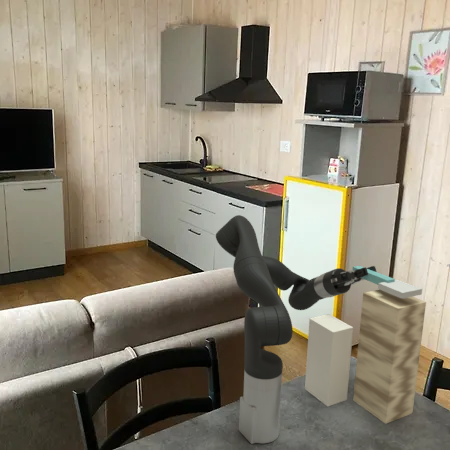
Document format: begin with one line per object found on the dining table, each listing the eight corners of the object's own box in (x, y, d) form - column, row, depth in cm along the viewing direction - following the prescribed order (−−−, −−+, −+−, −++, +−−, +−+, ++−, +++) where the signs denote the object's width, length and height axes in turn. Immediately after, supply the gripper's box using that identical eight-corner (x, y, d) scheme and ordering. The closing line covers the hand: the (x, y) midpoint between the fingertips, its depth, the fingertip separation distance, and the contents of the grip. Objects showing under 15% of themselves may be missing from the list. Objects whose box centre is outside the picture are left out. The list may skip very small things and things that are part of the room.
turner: (402, 298, 123) (402, 290, 123) (346, 275, 140) (346, 267, 140) (421, 294, 127) (422, 286, 126) (364, 272, 144) (365, 264, 143)
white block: (327, 406, 137) (333, 332, 132) (304, 388, 145) (309, 318, 140) (346, 400, 140) (353, 327, 135) (323, 382, 149) (328, 314, 144)
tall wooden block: (385, 423, 130) (398, 308, 123) (353, 400, 140) (363, 292, 133) (412, 413, 135) (426, 302, 128) (379, 391, 145) (390, 287, 138)
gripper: (310, 274, 149) (347, 260, 134) (346, 268, 156) (385, 254, 141) (317, 299, 147) (355, 287, 132) (352, 292, 154) (393, 280, 139)
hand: (370, 270), depth 137 cm, fingers closed on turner, 2 cm apart
